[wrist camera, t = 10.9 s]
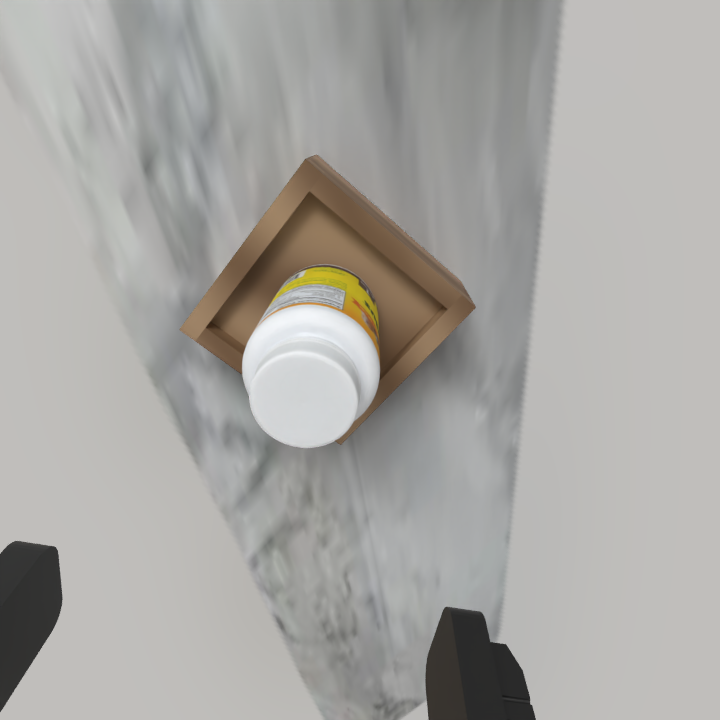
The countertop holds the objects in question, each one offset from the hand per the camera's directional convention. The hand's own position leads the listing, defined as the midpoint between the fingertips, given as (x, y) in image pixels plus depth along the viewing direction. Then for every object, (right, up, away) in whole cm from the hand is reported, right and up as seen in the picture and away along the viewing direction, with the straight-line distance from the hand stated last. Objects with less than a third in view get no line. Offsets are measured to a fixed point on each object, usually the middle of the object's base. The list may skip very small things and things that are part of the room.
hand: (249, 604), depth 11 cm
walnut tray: (+1, +9, +21) cm, 23 cm away
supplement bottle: (+1, +8, +17) cm, 19 cm away
